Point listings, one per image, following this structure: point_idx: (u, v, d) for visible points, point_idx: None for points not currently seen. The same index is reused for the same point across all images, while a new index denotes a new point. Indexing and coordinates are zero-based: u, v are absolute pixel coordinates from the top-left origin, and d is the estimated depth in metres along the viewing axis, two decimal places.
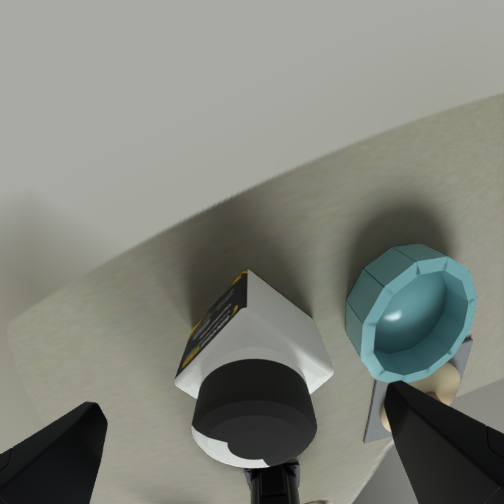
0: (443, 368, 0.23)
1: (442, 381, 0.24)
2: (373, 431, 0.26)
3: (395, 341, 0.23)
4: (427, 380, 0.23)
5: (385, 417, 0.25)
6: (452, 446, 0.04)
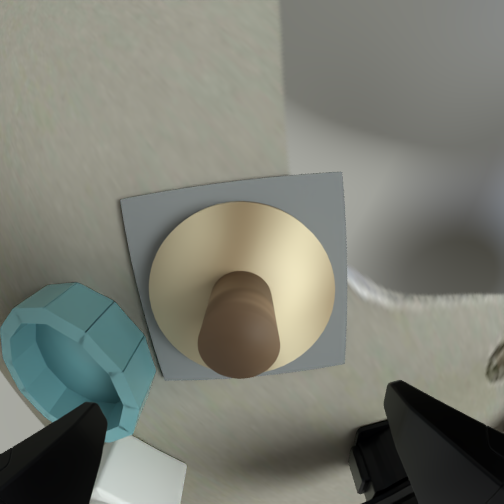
0: (156, 282, 0.15)
1: (189, 271, 0.15)
2: (313, 358, 0.18)
3: None
4: (180, 312, 0.15)
5: None
6: (452, 446, 0.04)
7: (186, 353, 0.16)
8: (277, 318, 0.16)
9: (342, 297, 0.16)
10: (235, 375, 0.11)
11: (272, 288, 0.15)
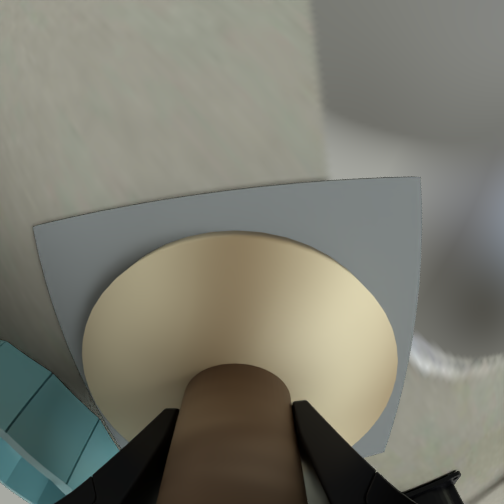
0: (93, 369, 0.08)
1: (142, 359, 0.08)
2: None
3: None
4: (137, 413, 0.08)
5: None
6: (323, 487, 0.04)
7: None
8: None
9: (398, 380, 0.09)
10: None
11: (292, 387, 0.08)
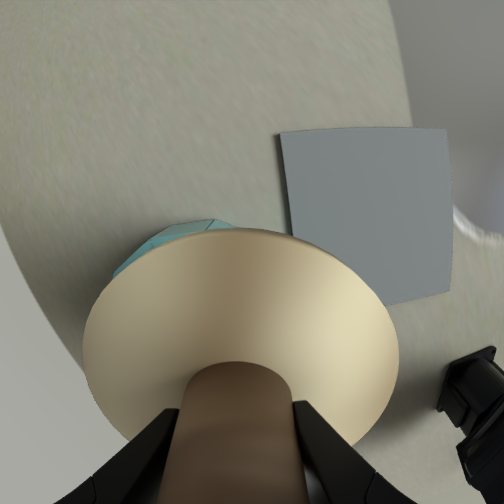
0: (93, 367, 0.08)
1: (143, 357, 0.08)
2: (429, 285, 0.19)
3: None
4: (138, 411, 0.08)
5: None
6: (324, 487, 0.04)
7: None
8: None
9: (450, 228, 0.18)
10: None
11: (293, 385, 0.08)
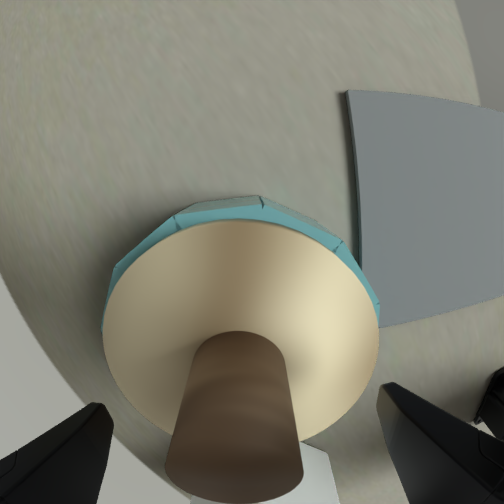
0: (112, 341, 0.09)
1: (158, 329, 0.09)
2: (492, 287, 0.14)
3: None
4: (150, 381, 0.10)
5: None
6: (443, 450, 0.04)
7: (165, 428, 0.10)
8: (292, 392, 0.10)
9: None
10: (230, 501, 0.06)
11: (286, 354, 0.09)
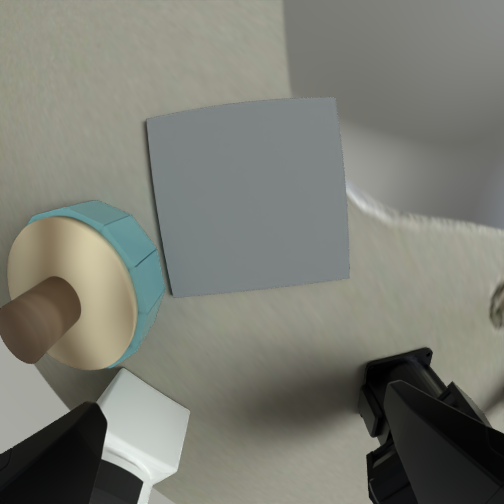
0: (11, 283, 0.14)
1: (26, 275, 0.14)
2: (319, 270, 0.19)
3: None
4: None
5: (91, 365, 0.16)
6: (452, 446, 0.04)
7: None
8: (88, 320, 0.15)
9: (342, 206, 0.18)
10: (24, 360, 0.11)
11: (78, 292, 0.15)
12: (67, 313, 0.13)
